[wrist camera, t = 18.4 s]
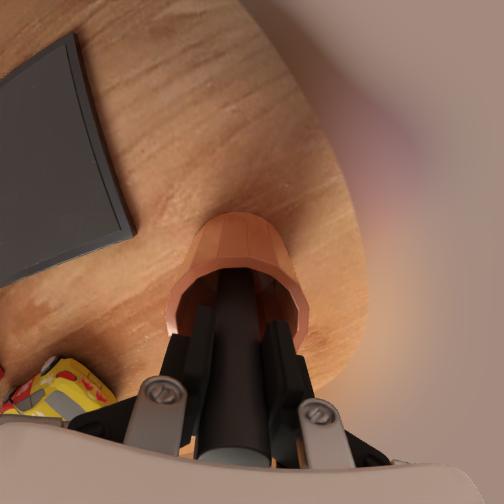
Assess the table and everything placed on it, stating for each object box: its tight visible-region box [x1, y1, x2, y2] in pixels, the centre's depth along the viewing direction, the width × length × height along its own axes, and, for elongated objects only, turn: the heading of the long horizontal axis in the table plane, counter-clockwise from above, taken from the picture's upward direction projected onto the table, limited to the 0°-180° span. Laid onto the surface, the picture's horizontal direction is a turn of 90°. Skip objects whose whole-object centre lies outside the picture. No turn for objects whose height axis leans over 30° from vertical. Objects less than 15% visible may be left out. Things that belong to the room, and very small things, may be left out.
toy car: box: [2, 355, 117, 421], centre depth 23 cm, size 8×17×5 cm, turn 125°
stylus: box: [193, 267, 272, 468], centre depth 13 cm, size 2×2×13 cm
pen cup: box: [165, 212, 309, 352], centre depth 17 cm, size 6×6×8 cm
